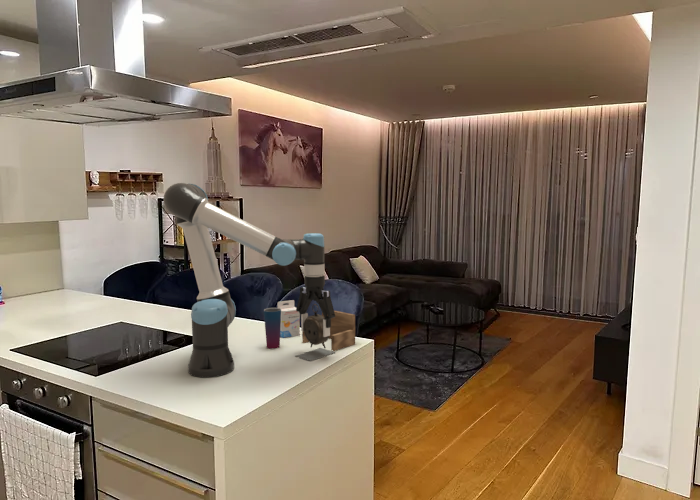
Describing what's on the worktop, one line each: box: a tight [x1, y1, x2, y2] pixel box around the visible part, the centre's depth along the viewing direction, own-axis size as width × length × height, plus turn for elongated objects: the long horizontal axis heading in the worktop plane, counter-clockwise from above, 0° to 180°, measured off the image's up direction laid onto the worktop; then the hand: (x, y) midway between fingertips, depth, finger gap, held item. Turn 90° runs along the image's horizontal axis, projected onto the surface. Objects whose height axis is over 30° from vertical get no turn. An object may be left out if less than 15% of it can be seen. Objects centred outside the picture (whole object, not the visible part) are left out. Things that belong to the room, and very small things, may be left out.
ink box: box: [277, 299, 301, 339], centre depth 210 cm, size 8×5×15 cm, turn 123°
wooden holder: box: [301, 310, 356, 352], centre depth 198 cm, size 12×18×12 cm
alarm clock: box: [303, 303, 329, 349], centre depth 183 cm, size 11×5×16 cm, turn 43°
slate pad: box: [294, 347, 336, 362], centre depth 184 cm, size 13×8×1 cm, turn 138°
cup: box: [263, 307, 281, 350], centre depth 193 cm, size 7×7×15 cm
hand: (315, 333), depth 183 cm, fingers closed on alarm clock, 11 cm apart
